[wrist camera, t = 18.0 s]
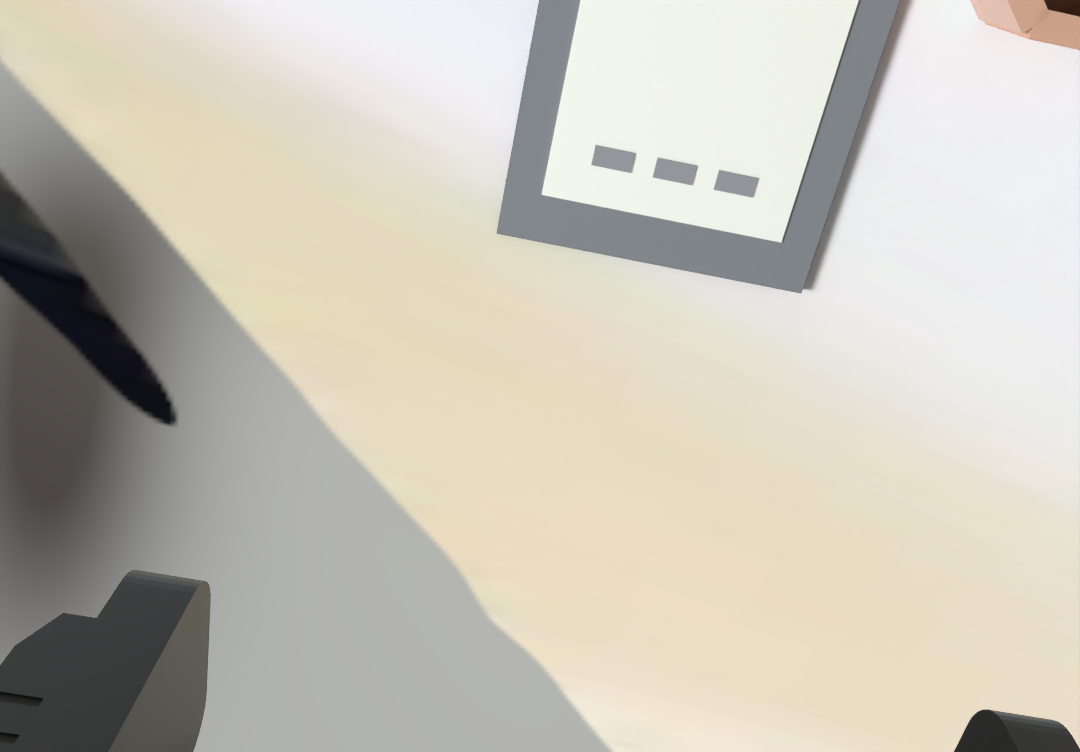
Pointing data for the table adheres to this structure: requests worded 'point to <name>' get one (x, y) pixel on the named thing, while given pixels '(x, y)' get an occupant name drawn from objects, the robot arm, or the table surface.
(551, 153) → the grey tablet
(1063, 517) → the table surface
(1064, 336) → the table surface
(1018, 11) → the pen cup
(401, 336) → the table surface
